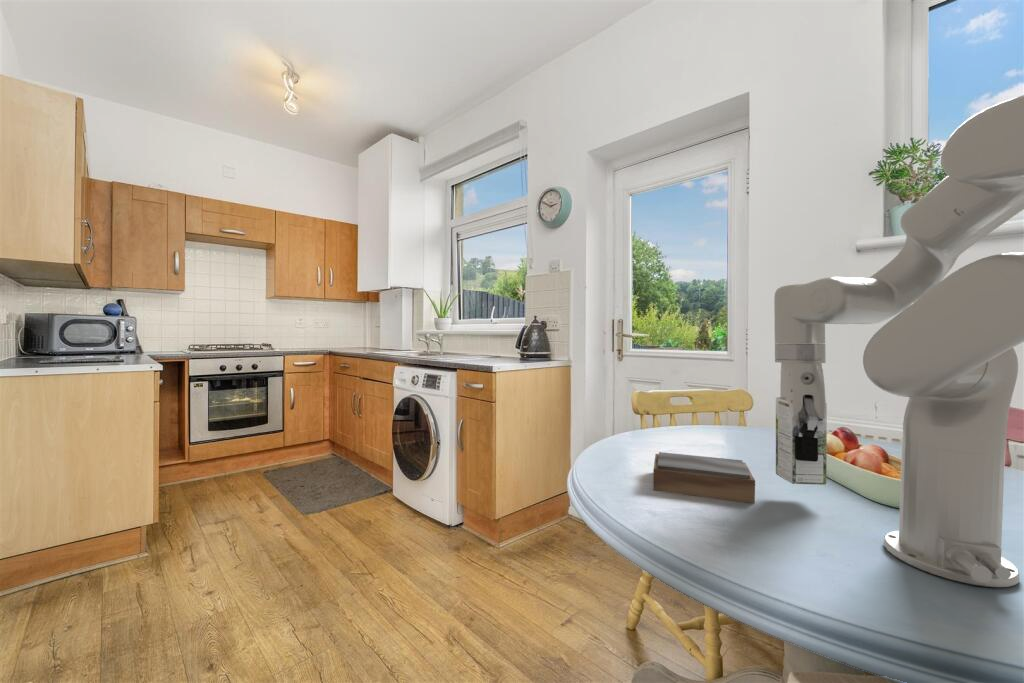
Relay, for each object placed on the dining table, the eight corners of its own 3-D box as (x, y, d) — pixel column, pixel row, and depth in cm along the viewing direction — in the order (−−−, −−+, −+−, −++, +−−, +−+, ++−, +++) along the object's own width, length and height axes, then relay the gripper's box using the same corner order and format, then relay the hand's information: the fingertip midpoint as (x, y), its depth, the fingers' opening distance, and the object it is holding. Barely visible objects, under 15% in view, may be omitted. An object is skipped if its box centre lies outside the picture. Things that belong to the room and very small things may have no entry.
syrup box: (808, 475, 80) (807, 396, 80) (828, 485, 74) (827, 400, 74) (775, 474, 80) (774, 396, 80) (792, 485, 74) (791, 400, 74)
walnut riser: (754, 503, 76) (755, 477, 76) (653, 490, 82) (653, 466, 82) (744, 482, 87) (745, 459, 87) (655, 472, 93) (655, 450, 92)
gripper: (842, 355, 68) (843, 470, 68) (809, 353, 84) (810, 446, 84) (787, 355, 70) (788, 466, 70) (765, 353, 87) (766, 443, 87)
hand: (800, 454), depth 77 cm, fingers closed on syrup box, 6 cm apart
